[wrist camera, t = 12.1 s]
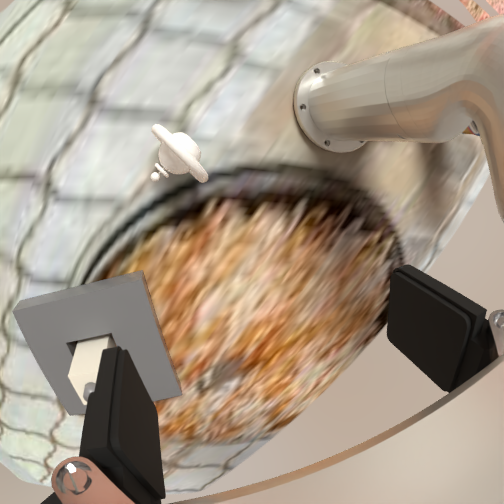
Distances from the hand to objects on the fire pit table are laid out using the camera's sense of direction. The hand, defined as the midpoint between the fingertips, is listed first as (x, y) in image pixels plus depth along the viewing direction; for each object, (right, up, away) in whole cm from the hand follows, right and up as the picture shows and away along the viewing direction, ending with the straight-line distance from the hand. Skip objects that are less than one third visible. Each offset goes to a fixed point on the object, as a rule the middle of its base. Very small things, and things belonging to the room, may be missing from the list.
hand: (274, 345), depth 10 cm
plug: (-21, -10, +28) cm, 36 cm away
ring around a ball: (-10, +13, +24) cm, 30 cm away
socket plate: (-21, -10, +28) cm, 36 cm away
